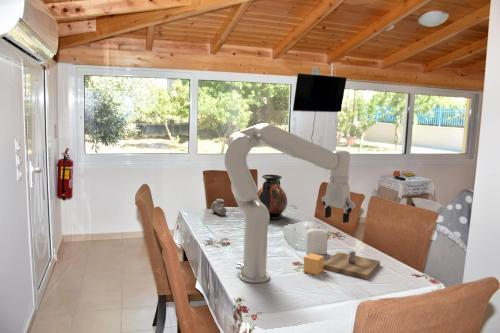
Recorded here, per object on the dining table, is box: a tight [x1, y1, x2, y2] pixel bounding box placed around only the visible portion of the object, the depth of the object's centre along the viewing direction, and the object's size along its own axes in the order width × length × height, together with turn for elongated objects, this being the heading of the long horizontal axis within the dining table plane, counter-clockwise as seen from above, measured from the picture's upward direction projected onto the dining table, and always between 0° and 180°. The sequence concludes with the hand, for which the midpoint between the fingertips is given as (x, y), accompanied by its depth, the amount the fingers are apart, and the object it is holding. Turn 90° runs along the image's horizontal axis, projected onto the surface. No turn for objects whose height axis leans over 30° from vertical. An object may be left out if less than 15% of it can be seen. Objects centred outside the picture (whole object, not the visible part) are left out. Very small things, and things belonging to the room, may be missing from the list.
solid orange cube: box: [302, 253, 325, 276], centre depth 171 cm, size 6×6×6 cm
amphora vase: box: [257, 174, 288, 221], centre depth 260 cm, size 22×22×28 cm
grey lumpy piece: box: [210, 198, 228, 217], centre depth 267 cm, size 12×8×10 cm
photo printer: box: [305, 228, 329, 255], centre depth 194 cm, size 10×4×12 cm, turn 89°
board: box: [323, 250, 381, 280], centre depth 177 cm, size 20×20×7 cm
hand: (336, 219), depth 168 cm, fingers open, 9 cm apart
